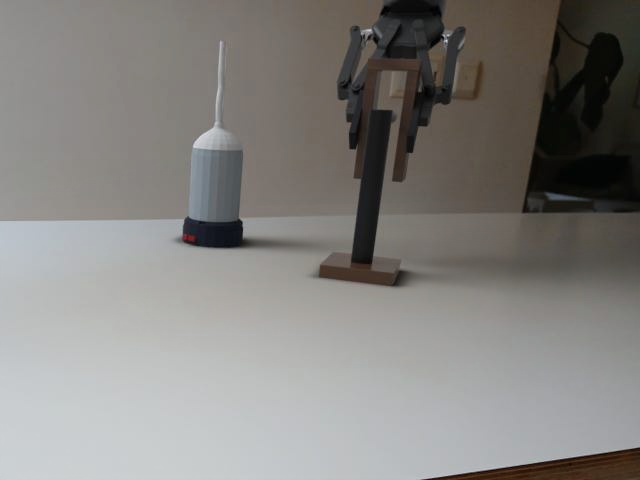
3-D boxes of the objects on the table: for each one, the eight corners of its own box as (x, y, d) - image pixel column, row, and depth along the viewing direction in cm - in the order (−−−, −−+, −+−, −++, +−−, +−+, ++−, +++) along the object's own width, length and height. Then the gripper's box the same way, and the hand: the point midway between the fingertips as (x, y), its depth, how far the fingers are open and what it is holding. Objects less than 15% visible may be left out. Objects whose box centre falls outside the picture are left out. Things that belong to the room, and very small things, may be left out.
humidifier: (174, 244, 98) (182, 38, 89) (191, 234, 105) (201, 43, 96) (234, 250, 95) (249, 39, 87) (248, 239, 103) (262, 44, 94)
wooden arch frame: (405, 179, 89) (422, 60, 84) (402, 182, 85) (420, 59, 81) (358, 175, 91) (372, 59, 86) (353, 178, 87) (367, 58, 83)
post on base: (404, 261, 93) (427, 109, 87) (391, 286, 80) (417, 111, 74) (340, 253, 96) (357, 106, 89) (318, 277, 83) (337, 108, 77)
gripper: (491, 24, 92) (465, 171, 83) (340, 23, 98) (301, 159, 90) (500, -30, 85) (473, 123, 77) (338, -27, 92) (296, 114, 83)
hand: (380, 142), depth 83 cm, fingers closed on wooden arch frame, 6 cm apart
